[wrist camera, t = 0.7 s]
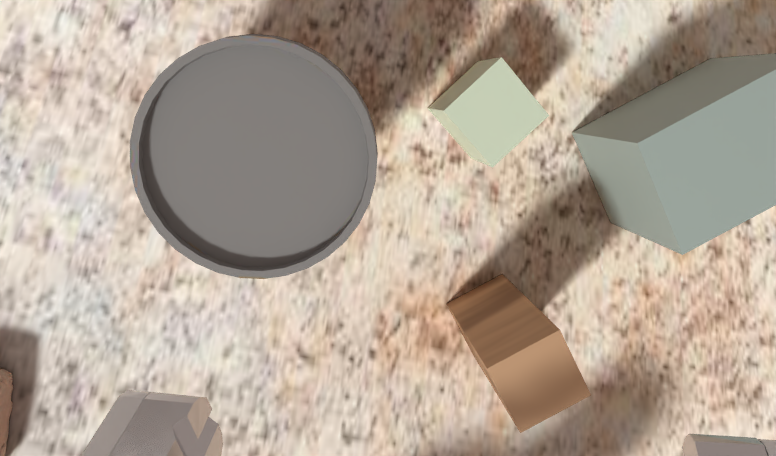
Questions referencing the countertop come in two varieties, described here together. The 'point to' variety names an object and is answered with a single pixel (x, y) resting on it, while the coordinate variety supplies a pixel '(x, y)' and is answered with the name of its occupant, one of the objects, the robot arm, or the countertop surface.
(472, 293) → the pillar
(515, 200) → the countertop surface
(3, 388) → the brick
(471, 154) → the cube
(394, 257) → the countertop surface
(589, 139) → the base block
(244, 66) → the reusable coffee cup
